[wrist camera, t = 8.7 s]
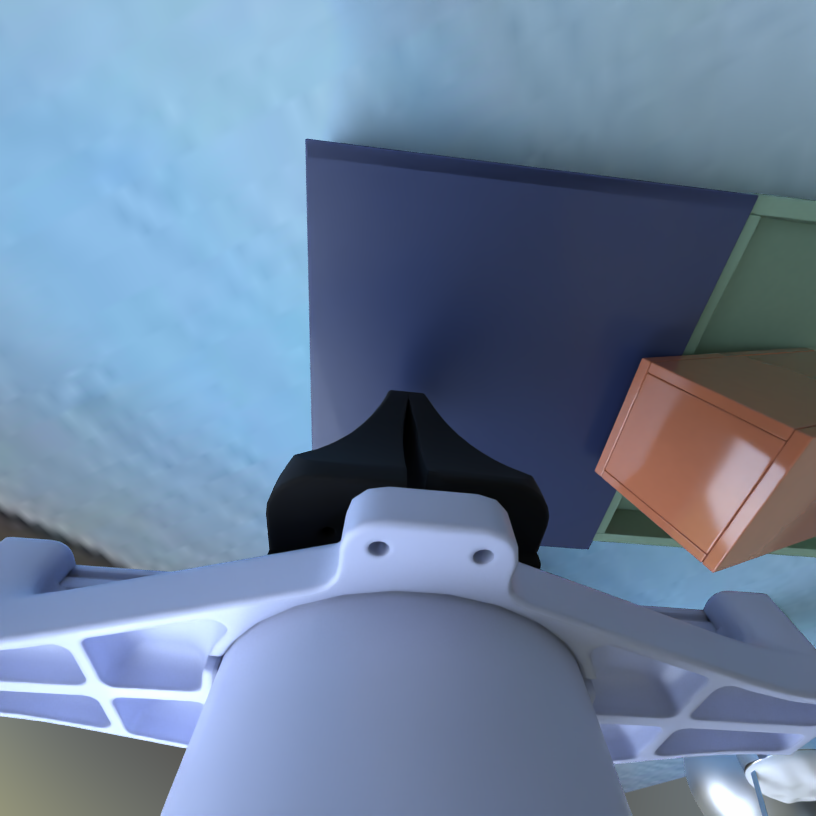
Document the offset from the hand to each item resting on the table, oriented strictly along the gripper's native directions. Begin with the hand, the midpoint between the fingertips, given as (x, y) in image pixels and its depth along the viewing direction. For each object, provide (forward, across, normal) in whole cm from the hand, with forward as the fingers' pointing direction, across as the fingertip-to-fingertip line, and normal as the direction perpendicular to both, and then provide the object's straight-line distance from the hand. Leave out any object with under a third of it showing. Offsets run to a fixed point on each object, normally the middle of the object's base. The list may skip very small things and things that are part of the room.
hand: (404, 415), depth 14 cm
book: (+5, -3, 0) cm, 6 cm away
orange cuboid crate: (+2, -13, 0) cm, 13 cm away
